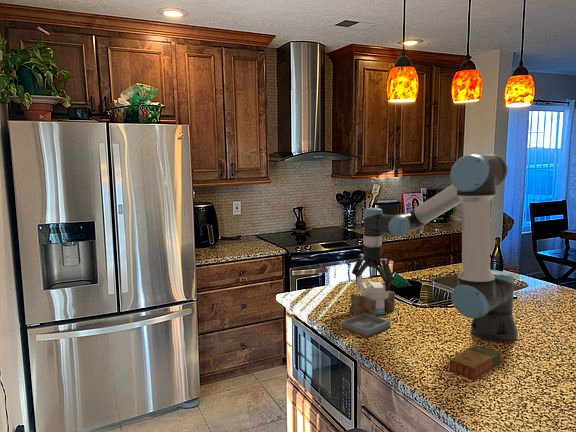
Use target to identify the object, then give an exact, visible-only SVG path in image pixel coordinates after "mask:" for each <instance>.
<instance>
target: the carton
mask: <svg viewBox="0 0 576 432" xmlns="http://www.w3.org/2000/svg"><path fill="white" fill-rule="evenodd" d="M501 358H502V353H501V352H500V351H498V350H494V349H490V348H487V347H486V346H485V347H484V346H482V345H479V344H475V345H473V346H472V347H469V348H468V349H466V350H465V351H463V352H461V353H459V354H457V355H456V356H453V357H452V358H450V359H449V370H448V371H449V372H452V373H454V374H456V375H459V376H461V377H463V378H466V379H468V380H471V381H473V382H476V381H477V380H479V379H480V378H482V377H483V376H485V375H487V374H488V373H489V372H490V371H493V370H494V369H496V368H497V367H499V366H500V365H501V364H502V359H501Z"/></svg>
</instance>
